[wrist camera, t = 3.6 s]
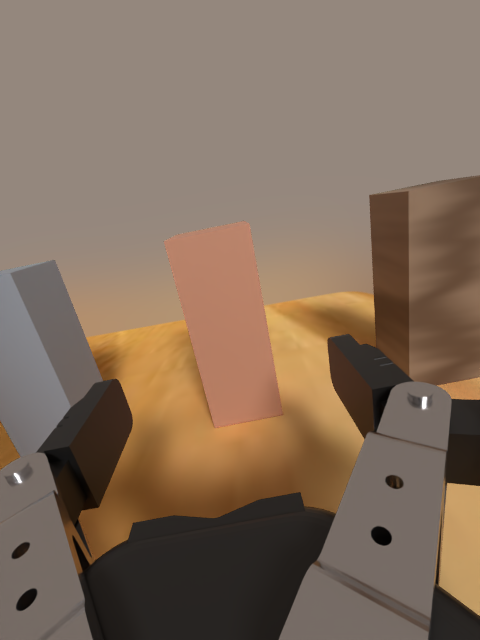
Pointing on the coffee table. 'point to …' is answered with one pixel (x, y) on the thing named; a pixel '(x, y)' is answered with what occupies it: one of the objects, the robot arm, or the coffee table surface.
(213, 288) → the pillar terracotta
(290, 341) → the coffee table surface
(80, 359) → the pillar slate
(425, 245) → the pillar walnut
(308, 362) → the coffee table surface
